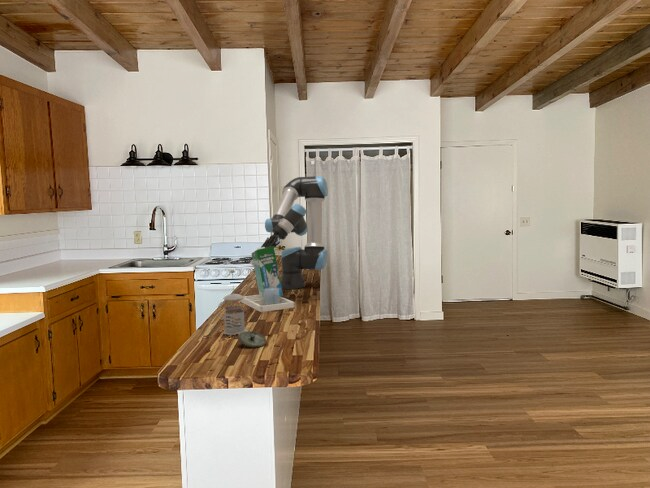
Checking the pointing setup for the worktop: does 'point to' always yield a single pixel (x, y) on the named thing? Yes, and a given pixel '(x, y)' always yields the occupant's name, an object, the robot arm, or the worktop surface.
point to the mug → (271, 295)
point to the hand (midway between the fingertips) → (252, 264)
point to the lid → (251, 339)
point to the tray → (260, 305)
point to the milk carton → (266, 269)
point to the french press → (233, 315)
